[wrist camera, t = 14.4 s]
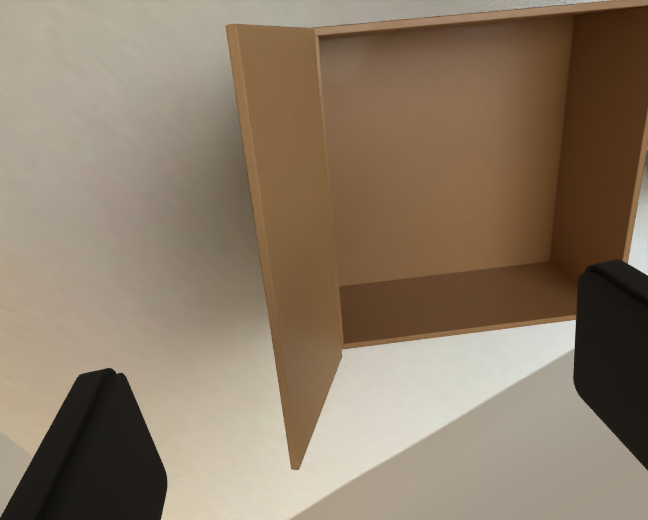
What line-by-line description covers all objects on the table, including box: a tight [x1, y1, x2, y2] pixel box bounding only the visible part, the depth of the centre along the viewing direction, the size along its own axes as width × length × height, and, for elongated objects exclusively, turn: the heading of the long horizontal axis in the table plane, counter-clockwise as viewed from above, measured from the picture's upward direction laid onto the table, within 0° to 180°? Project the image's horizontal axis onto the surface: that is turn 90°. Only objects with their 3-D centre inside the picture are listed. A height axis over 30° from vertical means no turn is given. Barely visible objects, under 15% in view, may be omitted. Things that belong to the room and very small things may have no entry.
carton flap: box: [226, 24, 342, 470], centre depth 18 cm, size 7×14×1 cm
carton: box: [314, 0, 648, 349], centre depth 25 cm, size 15×15×7 cm
